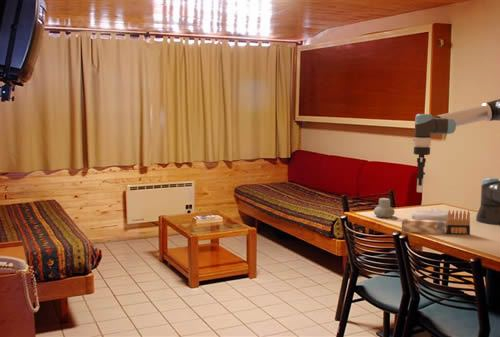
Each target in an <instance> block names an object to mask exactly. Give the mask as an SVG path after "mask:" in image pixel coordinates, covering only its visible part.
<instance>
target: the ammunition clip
mask: <svg viewBox="0 0 500 337" xmlns="http://www.w3.org/2000/svg"><path fill="white" fill-rule="evenodd" d="M447 212H448V218H447V226H446V235H460V236H462V235H463V236H467V235H468V236H470V235H471V217H470V216H471V213H470V210H468V211H467V212H466V210H463V212H462V210H460V211H458V210H456V212H455V211H454V210H452V213H451V210H448V211H447ZM466 213H467V214H466ZM451 214H452V217H451Z"/></svg>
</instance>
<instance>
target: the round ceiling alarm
mask: <svg viewBox="0 0 500 337" xmlns="http://www.w3.org/2000/svg"><path fill="white" fill-rule="evenodd" d="M448 212H449V211H447V210H443V209H438V208H431V209H423V210H420V209H419V210H415V211H413V212H412V213H411V219H419V220H435V221H446V227H447V218H448ZM451 217H452V213H451Z"/></svg>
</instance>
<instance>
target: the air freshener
mask: <svg viewBox="0 0 500 337" xmlns="http://www.w3.org/2000/svg"><path fill="white" fill-rule="evenodd" d="M373 214H374V215H375V216H376V217H378V218H381V217H382V218H381V219H383V218H385V219H389V218H391V217H393V216H394V215H395V209H394V208H393V207H391V199H390V198H386V197H382V198H381V197H380V198H379V199H378V206H376V207H375V208H374V209H373Z"/></svg>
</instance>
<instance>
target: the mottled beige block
mask: <svg viewBox="0 0 500 337" xmlns="http://www.w3.org/2000/svg"><path fill="white" fill-rule="evenodd" d="M446 227H447V226H446V221H435V220H419V219H412V218H402V219H401V232H411V233H426V234H439V235H440V234H441V235H447V233H446Z"/></svg>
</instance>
